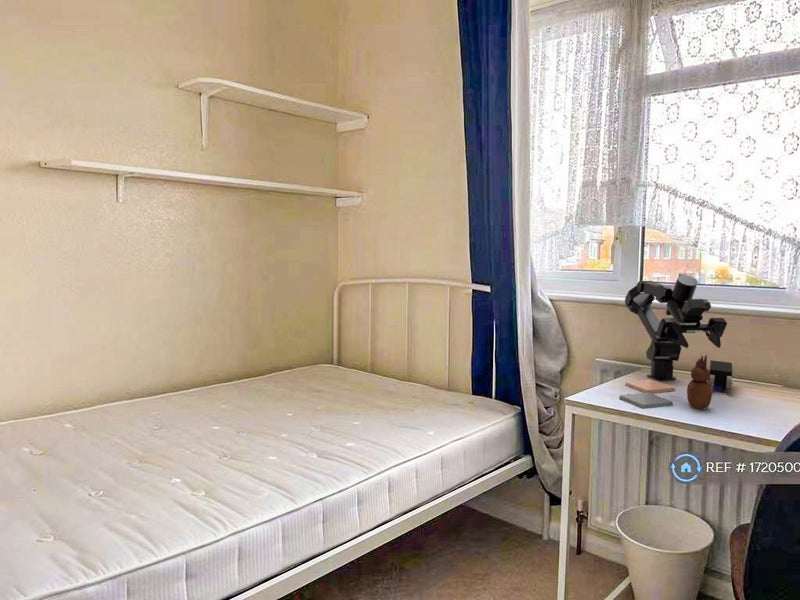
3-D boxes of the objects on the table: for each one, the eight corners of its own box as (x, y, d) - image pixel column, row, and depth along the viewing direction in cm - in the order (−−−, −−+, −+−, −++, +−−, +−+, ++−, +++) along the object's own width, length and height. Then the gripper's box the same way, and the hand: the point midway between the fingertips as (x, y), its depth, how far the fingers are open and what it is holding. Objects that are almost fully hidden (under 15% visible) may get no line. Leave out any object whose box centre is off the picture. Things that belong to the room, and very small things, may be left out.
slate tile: (619, 398, 174) (619, 395, 174) (648, 395, 177) (648, 392, 177) (642, 408, 165) (642, 404, 165) (672, 405, 168) (673, 401, 168)
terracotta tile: (625, 385, 189) (625, 382, 189) (651, 382, 192) (652, 379, 192) (646, 393, 180) (646, 390, 179) (674, 390, 182) (674, 387, 182)
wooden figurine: (713, 411, 162) (716, 356, 160) (690, 410, 163) (693, 356, 161) (706, 404, 168) (709, 351, 166) (684, 403, 169) (686, 351, 168)
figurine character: (733, 400, 177) (731, 383, 190) (734, 375, 175) (732, 359, 189) (707, 397, 180) (707, 380, 193) (708, 373, 178) (708, 357, 192)
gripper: (658, 291, 178) (679, 324, 166) (720, 291, 179) (746, 324, 166) (648, 320, 185) (668, 355, 172) (709, 320, 185) (732, 354, 173)
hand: (703, 346), depth 171 cm, fingers open, 9 cm apart
